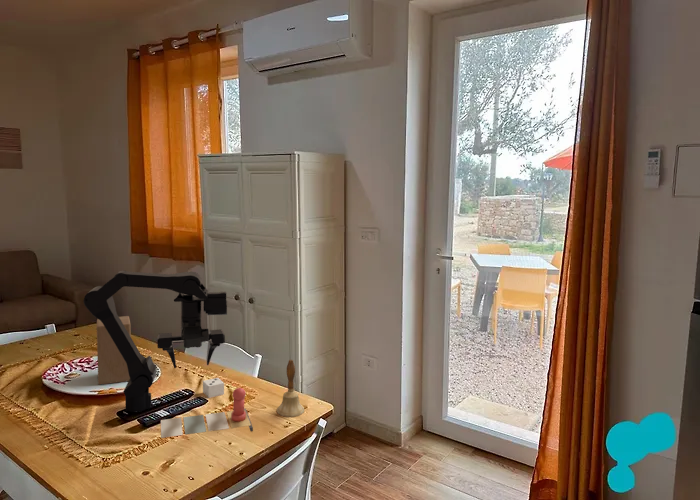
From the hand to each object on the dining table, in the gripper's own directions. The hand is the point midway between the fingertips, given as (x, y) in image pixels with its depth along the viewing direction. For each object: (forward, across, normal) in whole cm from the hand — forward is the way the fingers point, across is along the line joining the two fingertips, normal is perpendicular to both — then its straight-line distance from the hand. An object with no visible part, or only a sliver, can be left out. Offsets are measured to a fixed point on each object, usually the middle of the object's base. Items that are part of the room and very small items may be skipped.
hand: (191, 366), depth 148 cm
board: (+13, +3, -13) cm, 19 cm away
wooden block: (+13, -23, +30) cm, 40 cm away
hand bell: (+13, +28, -10) cm, 33 cm away
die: (+13, +7, +6) cm, 16 cm away
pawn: (+12, +12, -13) cm, 21 cm away
